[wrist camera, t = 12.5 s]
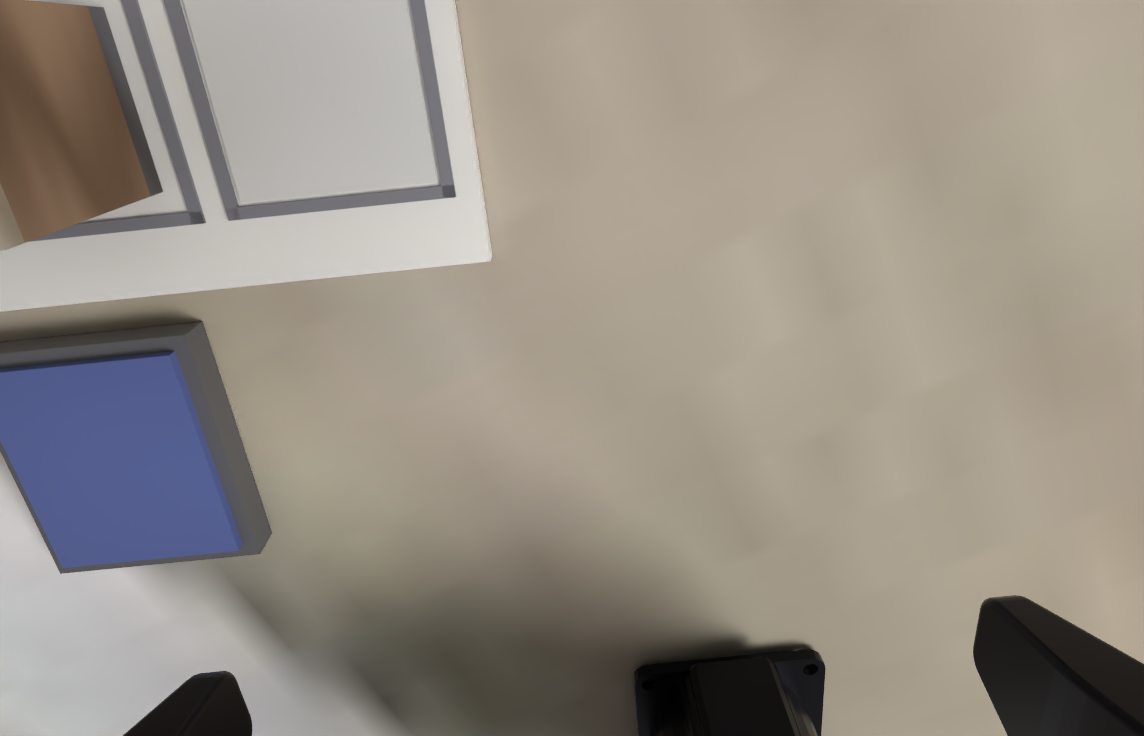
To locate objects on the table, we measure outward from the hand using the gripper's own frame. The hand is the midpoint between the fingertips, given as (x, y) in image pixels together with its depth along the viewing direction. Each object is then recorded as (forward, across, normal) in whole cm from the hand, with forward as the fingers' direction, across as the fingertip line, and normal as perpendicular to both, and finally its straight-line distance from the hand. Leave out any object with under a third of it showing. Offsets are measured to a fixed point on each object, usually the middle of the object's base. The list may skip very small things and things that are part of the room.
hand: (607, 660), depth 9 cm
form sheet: (+12, +8, -6) cm, 16 cm away
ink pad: (+12, +13, +2) cm, 18 cm away
